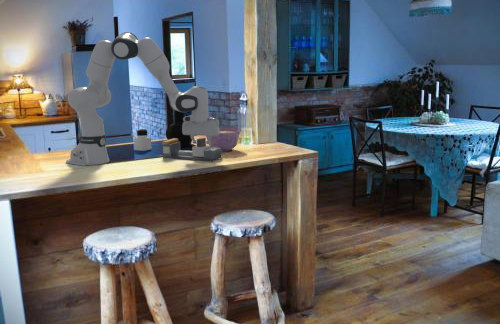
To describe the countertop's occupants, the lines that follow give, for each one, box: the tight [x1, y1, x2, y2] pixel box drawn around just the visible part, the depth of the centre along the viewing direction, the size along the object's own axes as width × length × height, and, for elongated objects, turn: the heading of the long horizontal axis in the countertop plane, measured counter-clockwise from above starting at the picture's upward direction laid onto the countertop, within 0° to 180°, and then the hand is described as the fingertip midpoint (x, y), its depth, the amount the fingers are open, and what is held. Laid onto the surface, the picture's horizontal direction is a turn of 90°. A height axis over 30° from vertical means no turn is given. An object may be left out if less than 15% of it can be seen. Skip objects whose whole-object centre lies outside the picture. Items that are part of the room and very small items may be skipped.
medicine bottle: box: [133, 128, 153, 152], centre depth 288 cm, size 7×7×12 cm
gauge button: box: [162, 138, 178, 144], centre depth 267 cm, size 3×11×1 cm, turn 157°
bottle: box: [165, 110, 193, 148], centre depth 298 cm, size 16×16×30 cm
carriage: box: [191, 137, 211, 157], centre depth 260 cm, size 7×7×9 cm
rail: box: [161, 141, 222, 163], centre depth 262 cm, size 30×10×8 cm, turn 67°
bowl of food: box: [205, 127, 241, 153], centre depth 282 cm, size 20×20×12 cm
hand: (201, 143), depth 259 cm, fingers open, 6 cm apart
